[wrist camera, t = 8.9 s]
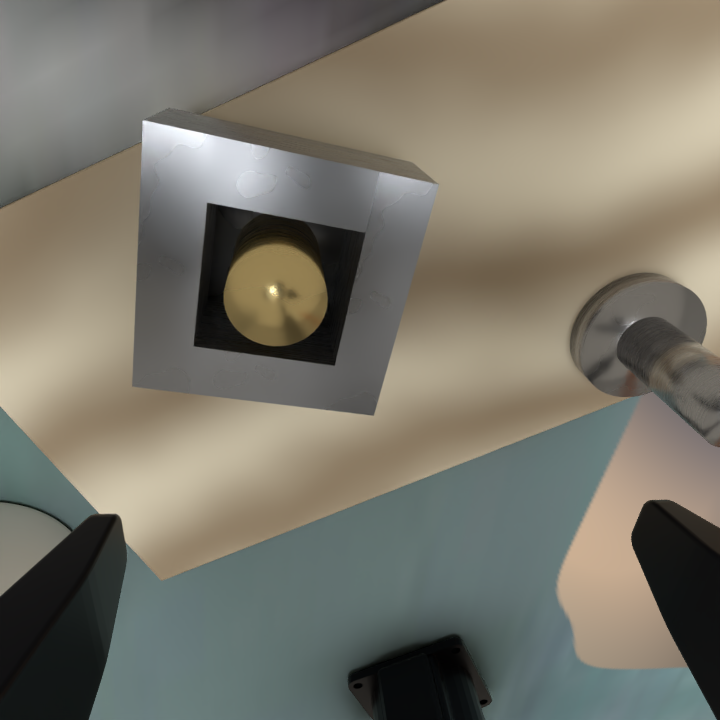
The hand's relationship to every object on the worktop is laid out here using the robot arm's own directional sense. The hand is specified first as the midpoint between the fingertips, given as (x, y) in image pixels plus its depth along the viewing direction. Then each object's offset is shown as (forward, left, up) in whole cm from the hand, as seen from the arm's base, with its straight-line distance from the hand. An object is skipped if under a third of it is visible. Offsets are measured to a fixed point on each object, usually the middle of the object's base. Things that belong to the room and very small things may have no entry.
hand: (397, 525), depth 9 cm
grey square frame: (+3, +1, -9) cm, 9 cm away
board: (-1, -2, -11) cm, 11 cm away
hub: (+3, +1, -10) cm, 10 cm away
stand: (-5, -9, -11) cm, 15 cm away
